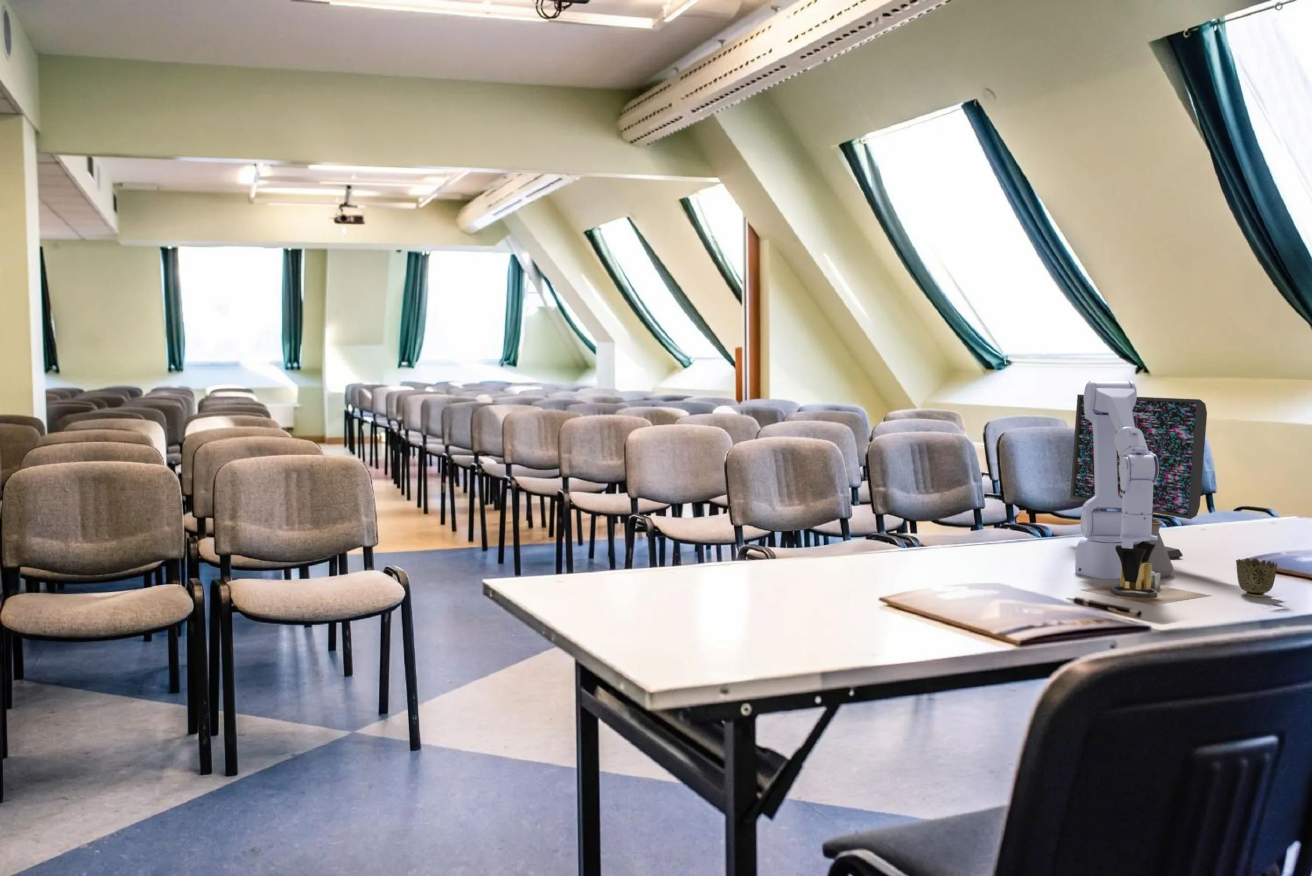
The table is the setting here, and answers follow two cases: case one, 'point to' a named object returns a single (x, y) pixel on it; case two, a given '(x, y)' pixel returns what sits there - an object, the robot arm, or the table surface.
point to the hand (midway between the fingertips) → (1134, 579)
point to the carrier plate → (1162, 597)
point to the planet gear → (1139, 578)
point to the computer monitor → (1170, 436)
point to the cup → (1256, 576)
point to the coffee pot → (1159, 553)
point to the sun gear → (1155, 580)
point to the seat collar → (1150, 593)
